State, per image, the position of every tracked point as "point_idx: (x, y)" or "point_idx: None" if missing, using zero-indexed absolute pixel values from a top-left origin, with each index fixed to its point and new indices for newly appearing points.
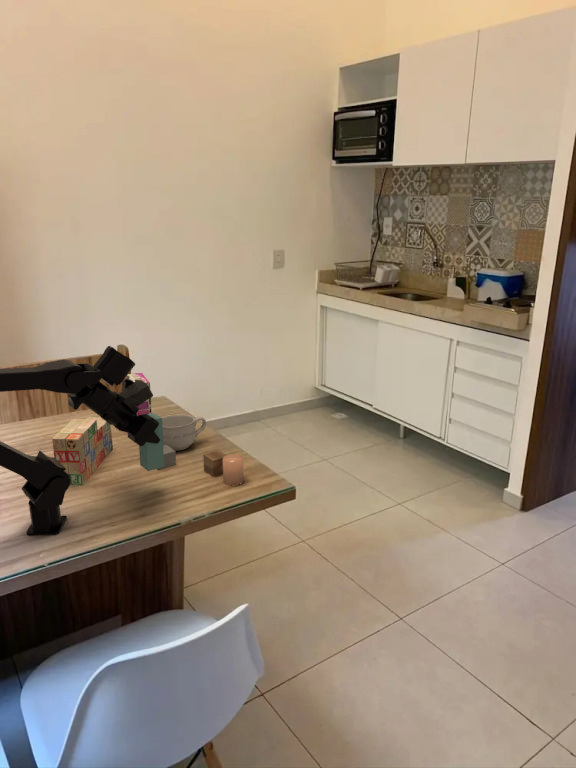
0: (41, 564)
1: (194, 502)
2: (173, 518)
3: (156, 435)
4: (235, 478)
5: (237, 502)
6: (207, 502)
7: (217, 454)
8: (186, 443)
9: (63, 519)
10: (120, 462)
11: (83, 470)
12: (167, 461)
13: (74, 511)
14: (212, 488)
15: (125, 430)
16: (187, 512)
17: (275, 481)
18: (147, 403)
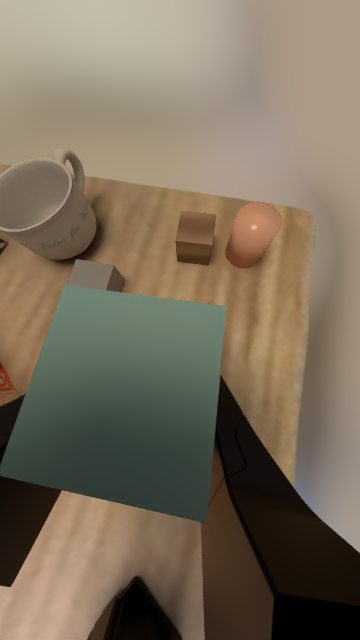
0: None
1: (260, 341)
2: (285, 405)
3: (226, 387)
4: (264, 251)
5: (308, 292)
6: (275, 326)
7: (196, 223)
8: (94, 228)
9: (143, 598)
10: (34, 341)
11: None
12: (115, 289)
13: (124, 540)
14: (240, 290)
15: (42, 517)
16: (283, 373)
17: (288, 212)
18: None
